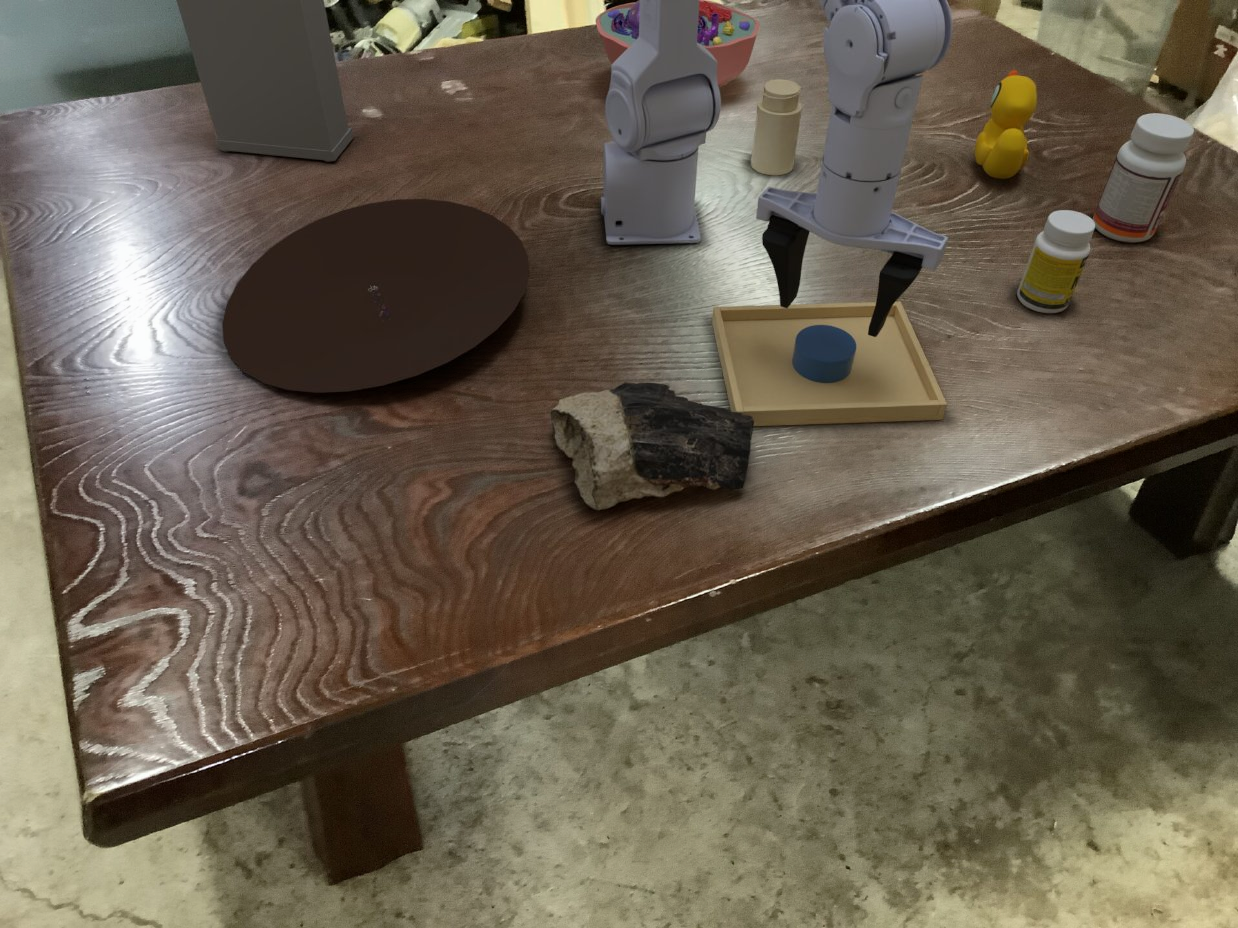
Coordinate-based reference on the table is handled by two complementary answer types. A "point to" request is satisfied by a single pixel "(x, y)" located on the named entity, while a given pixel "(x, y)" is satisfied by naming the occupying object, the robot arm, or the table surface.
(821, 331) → the lid
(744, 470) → the mineral specimen
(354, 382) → the dark brown round disc
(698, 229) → the robot arm
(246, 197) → the table surface
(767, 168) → the jar
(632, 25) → the cell model
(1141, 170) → the pill bottle
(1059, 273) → the supplement bottle
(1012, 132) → the duckling
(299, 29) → the grey upright box
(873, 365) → the tray
